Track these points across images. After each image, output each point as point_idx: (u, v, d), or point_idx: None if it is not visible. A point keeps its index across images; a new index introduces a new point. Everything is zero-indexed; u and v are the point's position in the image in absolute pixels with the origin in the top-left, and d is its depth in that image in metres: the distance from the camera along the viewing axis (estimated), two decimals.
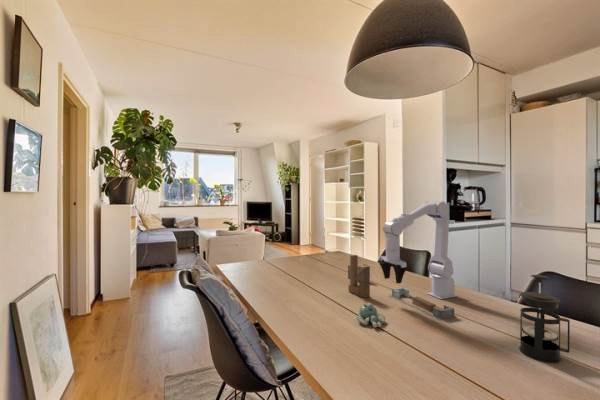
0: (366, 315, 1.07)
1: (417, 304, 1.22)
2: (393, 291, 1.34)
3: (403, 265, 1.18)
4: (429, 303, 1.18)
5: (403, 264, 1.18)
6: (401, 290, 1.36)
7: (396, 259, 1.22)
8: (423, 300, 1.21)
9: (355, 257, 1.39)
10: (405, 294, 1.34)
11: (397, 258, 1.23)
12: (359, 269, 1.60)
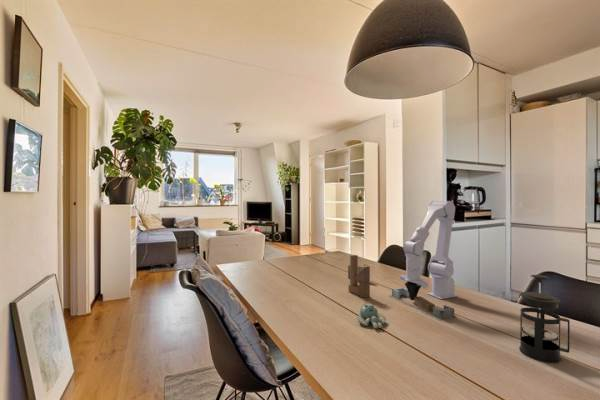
0: (366, 316, 1.06)
1: (418, 304, 1.22)
2: (393, 291, 1.34)
3: (424, 285, 1.20)
4: (428, 303, 1.18)
5: (424, 284, 1.20)
6: (401, 290, 1.36)
7: (417, 279, 1.24)
8: (424, 300, 1.21)
9: (355, 257, 1.39)
10: (405, 294, 1.34)
11: (418, 278, 1.24)
12: (359, 269, 1.60)
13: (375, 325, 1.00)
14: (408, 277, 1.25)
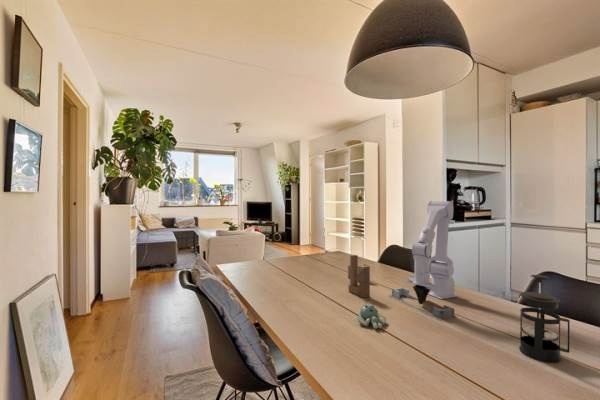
0: (367, 316, 1.06)
1: (428, 308, 1.18)
2: (393, 291, 1.34)
3: (434, 289, 1.15)
4: (440, 307, 1.13)
5: (434, 288, 1.15)
6: (401, 290, 1.36)
7: (426, 282, 1.19)
8: (434, 304, 1.17)
9: (355, 257, 1.39)
10: (405, 294, 1.34)
11: (427, 281, 1.19)
12: (359, 269, 1.60)
13: (375, 325, 1.00)
14: (417, 280, 1.21)
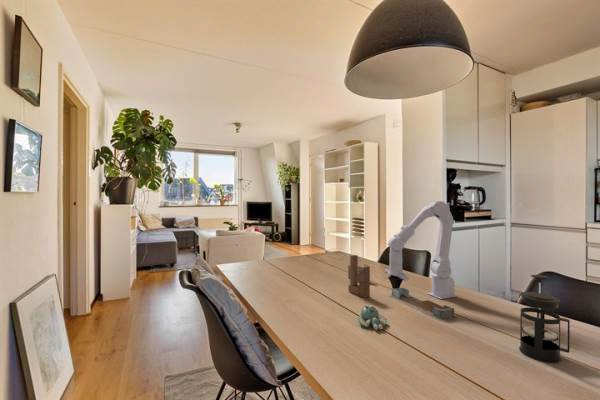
0: (367, 317, 1.05)
1: (428, 308, 1.18)
2: (393, 291, 1.34)
3: (405, 278, 1.30)
4: (441, 307, 1.13)
5: (405, 277, 1.30)
6: (401, 290, 1.36)
7: (399, 272, 1.34)
8: (434, 304, 1.17)
9: (355, 257, 1.39)
10: (405, 294, 1.34)
11: (400, 271, 1.34)
12: (359, 269, 1.60)
13: (376, 327, 0.99)
14: (391, 271, 1.36)
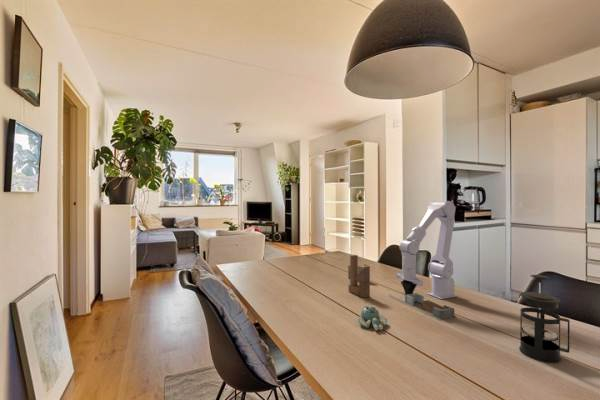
0: (367, 317, 1.05)
1: (428, 308, 1.18)
2: (406, 297, 1.26)
3: (420, 284, 1.22)
4: (441, 307, 1.13)
5: (420, 283, 1.22)
6: (415, 296, 1.27)
7: (412, 277, 1.26)
8: (434, 304, 1.17)
9: (355, 257, 1.39)
10: (419, 300, 1.26)
11: (413, 276, 1.26)
12: (359, 269, 1.59)
13: (376, 327, 0.99)
14: (404, 276, 1.28)
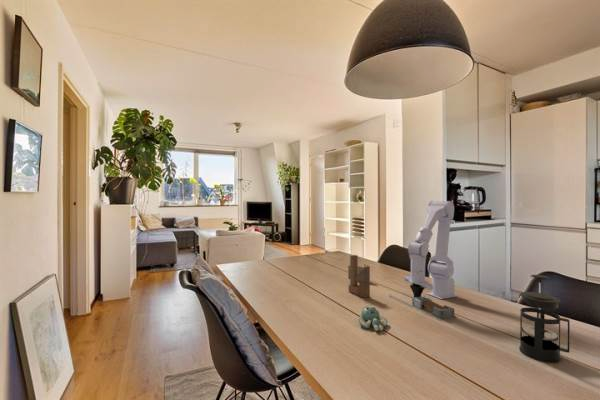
0: (368, 318, 1.04)
1: (429, 308, 1.17)
2: (414, 300, 1.22)
3: (430, 287, 1.17)
4: (441, 307, 1.13)
5: (430, 286, 1.17)
6: (422, 299, 1.23)
7: (422, 280, 1.21)
8: (435, 304, 1.16)
9: (355, 257, 1.39)
10: None
11: (423, 279, 1.22)
12: (359, 269, 1.59)
13: (376, 327, 0.98)
14: (413, 279, 1.23)
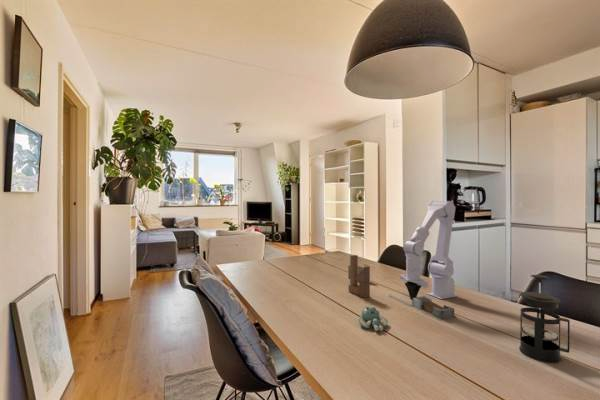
0: (368, 318, 1.04)
1: (429, 309, 1.17)
2: (414, 300, 1.22)
3: (425, 285, 1.20)
4: (441, 308, 1.13)
5: (425, 284, 1.20)
6: (422, 299, 1.23)
7: (417, 278, 1.24)
8: (435, 305, 1.16)
9: (355, 257, 1.39)
10: None
11: (418, 277, 1.24)
12: (359, 269, 1.59)
13: (376, 328, 0.98)
14: (408, 277, 1.25)
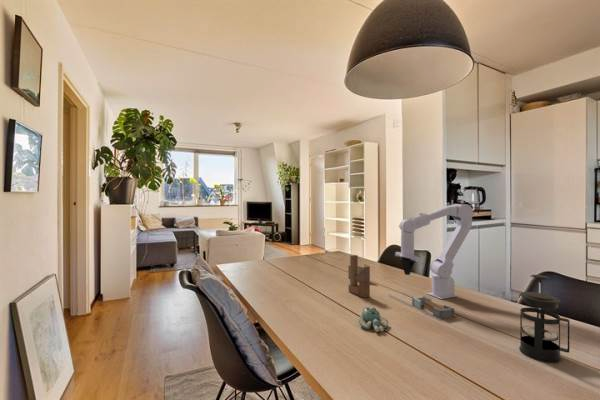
0: (368, 318, 1.04)
1: (429, 309, 1.17)
2: (414, 300, 1.22)
3: (418, 260, 1.29)
4: (441, 308, 1.13)
5: (418, 259, 1.29)
6: (422, 299, 1.23)
7: (411, 254, 1.33)
8: (435, 305, 1.16)
9: (355, 257, 1.39)
10: None
11: (412, 253, 1.33)
12: (360, 269, 1.59)
13: (376, 328, 0.98)
14: (403, 253, 1.34)
